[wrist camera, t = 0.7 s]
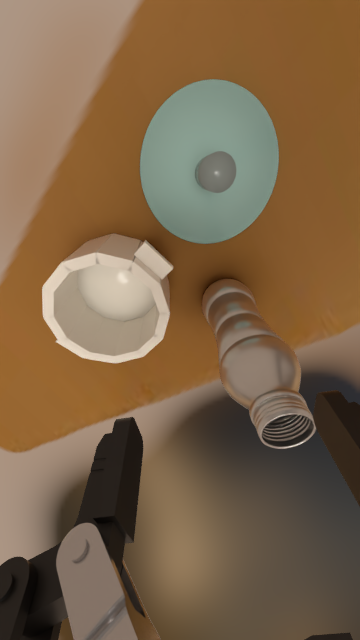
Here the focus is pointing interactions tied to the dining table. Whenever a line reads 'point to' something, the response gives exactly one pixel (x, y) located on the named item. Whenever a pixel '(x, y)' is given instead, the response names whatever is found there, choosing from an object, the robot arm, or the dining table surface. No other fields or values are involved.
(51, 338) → the dining table surface
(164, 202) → the lid
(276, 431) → the plastic bottle
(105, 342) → the pot
